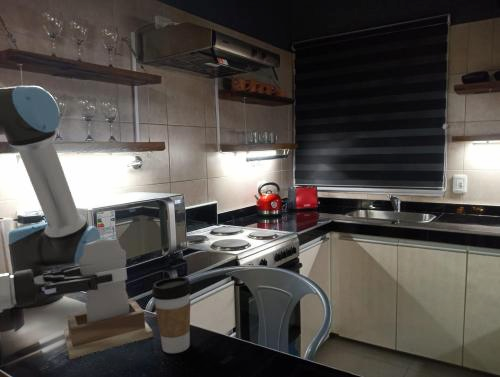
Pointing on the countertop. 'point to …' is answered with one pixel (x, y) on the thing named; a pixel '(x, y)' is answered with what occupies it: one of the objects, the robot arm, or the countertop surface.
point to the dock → (105, 331)
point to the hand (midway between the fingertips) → (122, 269)
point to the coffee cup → (173, 313)
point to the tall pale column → (107, 295)
